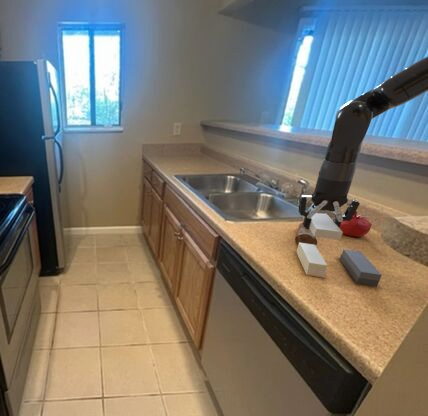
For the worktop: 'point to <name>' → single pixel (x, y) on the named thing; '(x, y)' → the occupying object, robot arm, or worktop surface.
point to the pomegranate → (356, 226)
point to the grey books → (360, 268)
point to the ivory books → (311, 260)
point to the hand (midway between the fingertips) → (319, 230)
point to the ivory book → (324, 227)
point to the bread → (305, 236)
